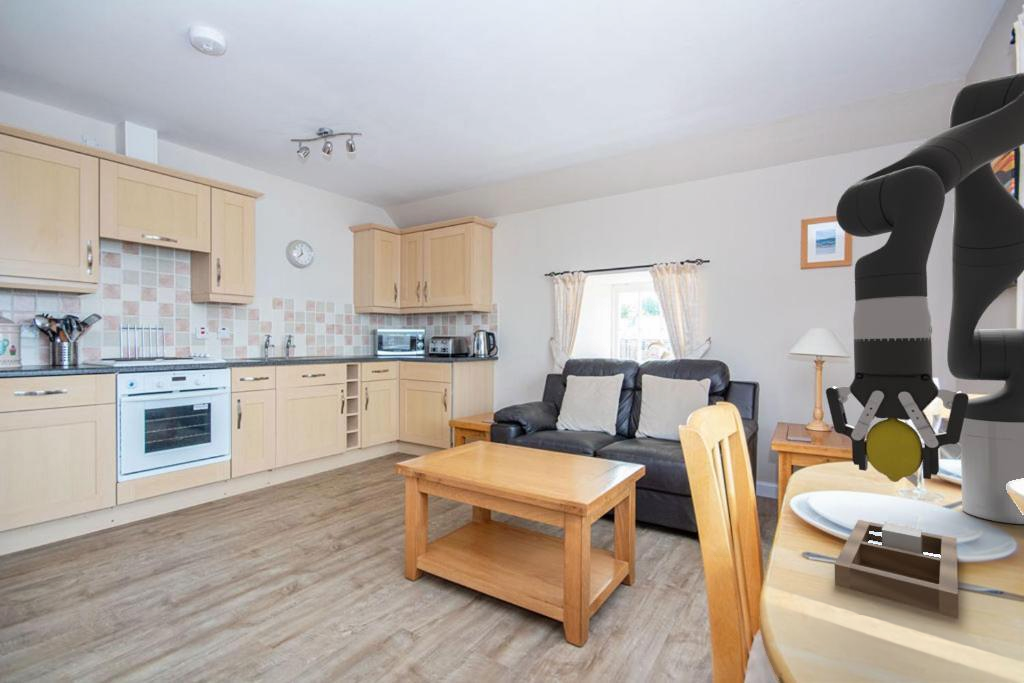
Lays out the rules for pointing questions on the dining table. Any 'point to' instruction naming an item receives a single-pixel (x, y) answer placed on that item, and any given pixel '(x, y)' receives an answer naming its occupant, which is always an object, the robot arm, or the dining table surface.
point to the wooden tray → (901, 570)
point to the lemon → (894, 449)
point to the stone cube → (902, 537)
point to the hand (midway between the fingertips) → (894, 472)
